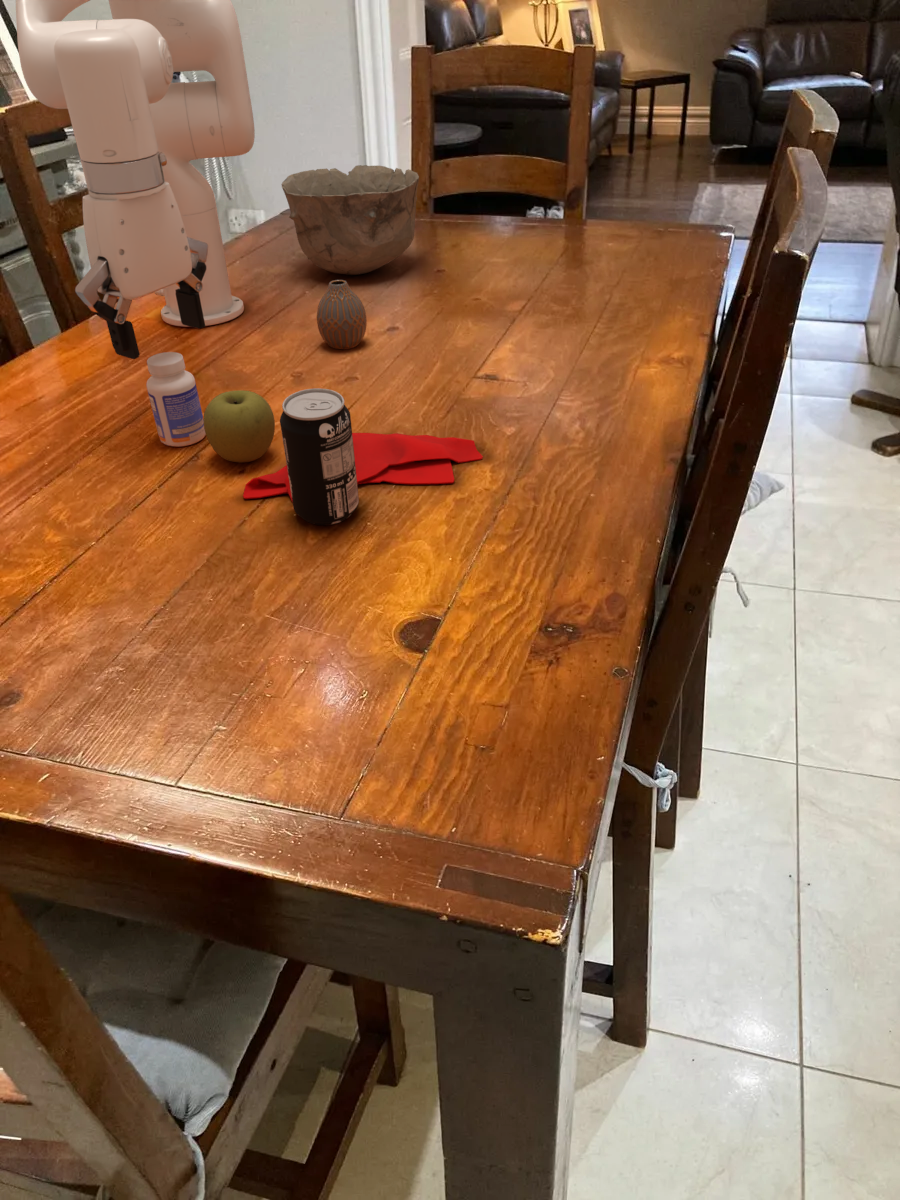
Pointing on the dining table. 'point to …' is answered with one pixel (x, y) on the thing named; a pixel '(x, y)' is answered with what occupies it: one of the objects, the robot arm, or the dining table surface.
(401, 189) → the bowl
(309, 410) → the beverage can
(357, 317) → the vase
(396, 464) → the cloth
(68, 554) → the dining table surface
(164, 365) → the pill bottle
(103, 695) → the dining table surface
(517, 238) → the dining table surface
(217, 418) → the apple
